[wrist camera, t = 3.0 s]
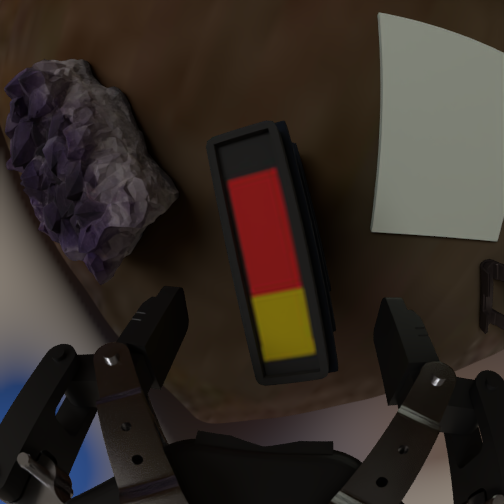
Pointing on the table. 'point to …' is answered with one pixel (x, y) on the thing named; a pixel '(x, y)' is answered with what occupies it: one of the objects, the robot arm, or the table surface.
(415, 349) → the robot arm
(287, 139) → the black red yellow block
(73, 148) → the geode
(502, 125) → the sage mat
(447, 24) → the table surface
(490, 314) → the portable electronic device stand
